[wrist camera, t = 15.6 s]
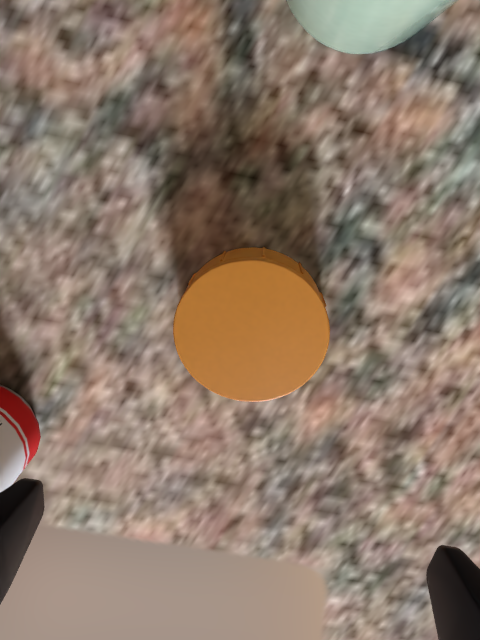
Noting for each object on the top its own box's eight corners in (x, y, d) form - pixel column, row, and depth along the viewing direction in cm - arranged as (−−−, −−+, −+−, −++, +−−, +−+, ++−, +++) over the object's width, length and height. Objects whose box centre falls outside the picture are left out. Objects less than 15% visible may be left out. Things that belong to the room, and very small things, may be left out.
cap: (285, 394, 22) (287, 422, 20) (164, 346, 21) (152, 369, 19) (349, 282, 19) (359, 300, 17) (213, 222, 18) (206, 232, 16)
